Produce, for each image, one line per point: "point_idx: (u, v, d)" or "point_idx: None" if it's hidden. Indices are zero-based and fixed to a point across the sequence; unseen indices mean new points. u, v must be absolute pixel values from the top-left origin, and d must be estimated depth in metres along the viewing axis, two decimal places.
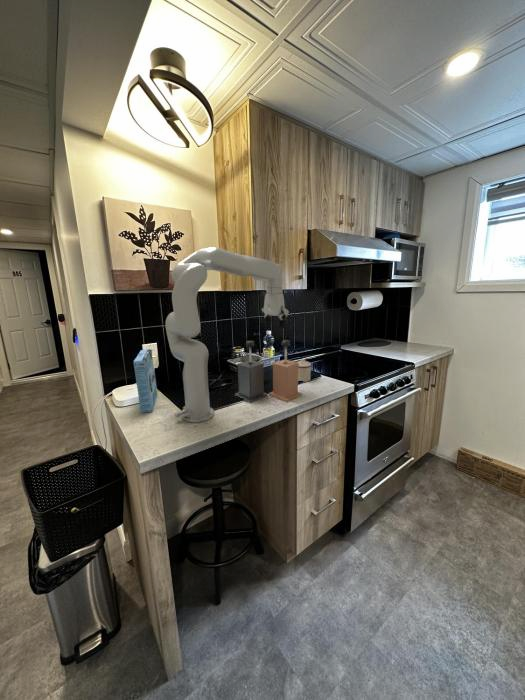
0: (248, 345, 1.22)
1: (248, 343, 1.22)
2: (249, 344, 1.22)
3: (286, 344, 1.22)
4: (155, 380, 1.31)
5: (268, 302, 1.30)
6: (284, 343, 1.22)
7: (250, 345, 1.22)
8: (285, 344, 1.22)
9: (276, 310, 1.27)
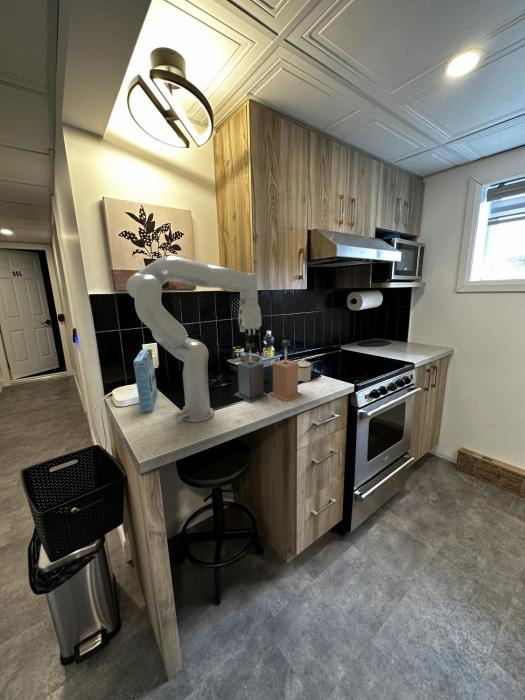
0: (248, 347, 1.22)
1: (248, 345, 1.22)
2: (249, 346, 1.22)
3: (286, 344, 1.22)
4: (155, 380, 1.31)
5: (251, 315, 1.17)
6: (284, 343, 1.22)
7: (250, 347, 1.22)
8: (285, 344, 1.22)
9: (260, 321, 1.21)
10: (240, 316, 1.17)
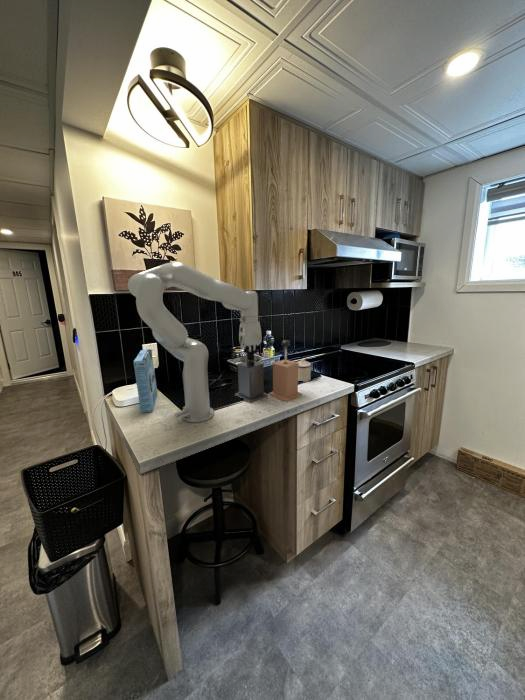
0: (248, 363, 1.24)
1: (248, 361, 1.24)
2: (249, 362, 1.24)
3: (286, 344, 1.22)
4: (155, 380, 1.31)
5: (251, 332, 1.19)
6: (284, 343, 1.22)
7: (250, 363, 1.24)
8: (285, 344, 1.22)
9: (260, 338, 1.23)
10: (241, 333, 1.19)
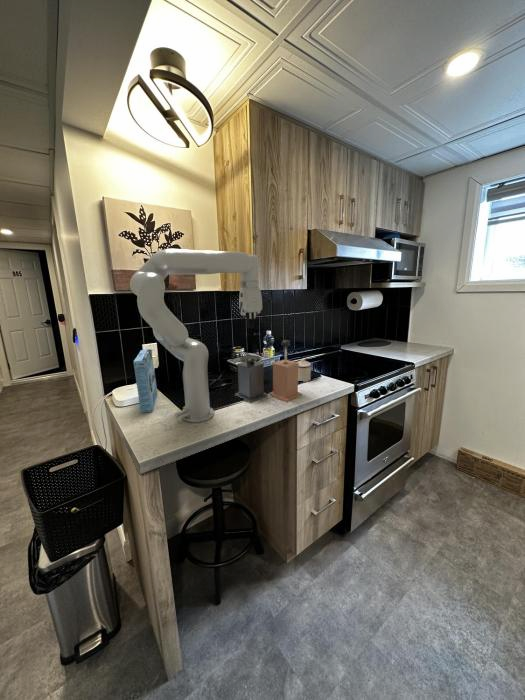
0: (248, 362, 1.24)
1: (248, 360, 1.24)
2: (249, 361, 1.24)
3: (286, 344, 1.22)
4: (155, 380, 1.31)
5: (252, 298, 1.15)
6: (284, 343, 1.22)
7: (250, 362, 1.24)
8: (285, 344, 1.22)
9: (261, 305, 1.20)
10: (241, 299, 1.15)
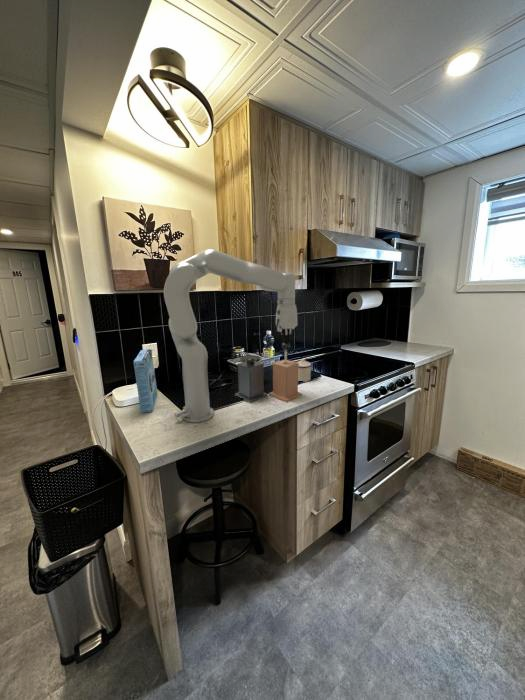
0: (248, 362, 1.24)
1: (248, 360, 1.24)
2: (249, 361, 1.24)
3: (286, 346, 1.22)
4: (155, 380, 1.31)
5: (289, 315, 1.17)
6: (284, 345, 1.22)
7: (250, 362, 1.24)
8: (285, 346, 1.22)
9: (296, 321, 1.22)
10: (278, 316, 1.17)
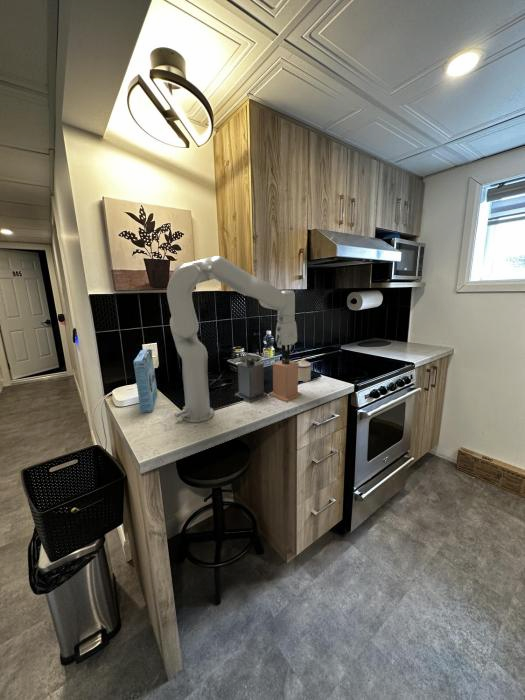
0: (248, 362, 1.24)
1: (248, 360, 1.24)
2: (249, 361, 1.24)
3: (286, 361, 1.24)
4: (155, 380, 1.31)
5: (288, 331, 1.19)
6: (284, 360, 1.24)
7: (250, 362, 1.24)
8: (285, 361, 1.24)
9: (296, 337, 1.23)
10: (278, 333, 1.19)
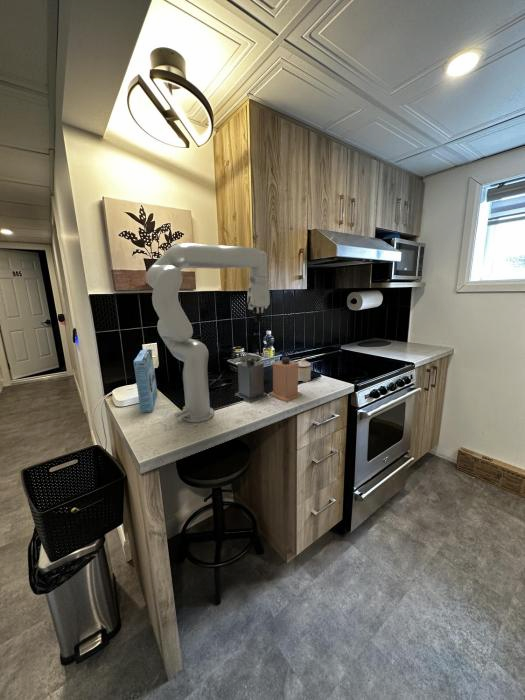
0: (248, 362, 1.24)
1: (248, 360, 1.24)
2: (249, 361, 1.24)
3: (286, 361, 1.24)
4: (155, 380, 1.31)
5: (259, 292, 1.19)
6: (284, 360, 1.24)
7: (250, 362, 1.24)
8: (285, 361, 1.24)
9: (268, 300, 1.23)
10: (249, 293, 1.19)
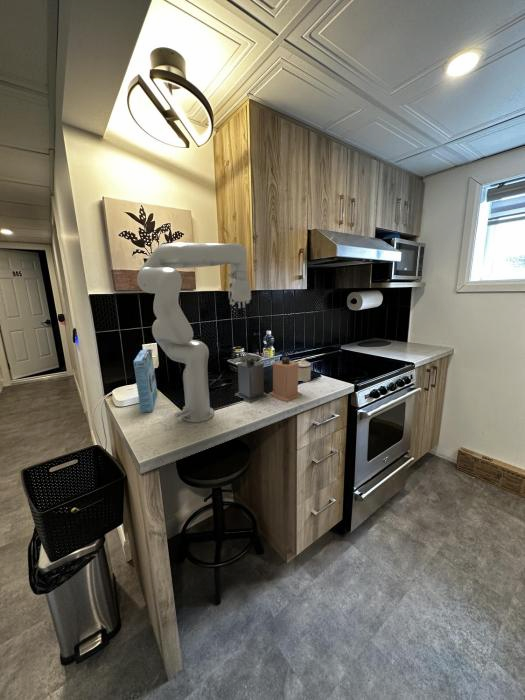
0: (248, 362, 1.24)
1: (248, 360, 1.24)
2: (249, 361, 1.24)
3: (286, 361, 1.24)
4: (155, 380, 1.31)
5: (240, 288, 1.22)
6: (284, 360, 1.24)
7: (250, 362, 1.24)
8: (285, 361, 1.24)
9: (249, 295, 1.26)
10: (230, 289, 1.21)
